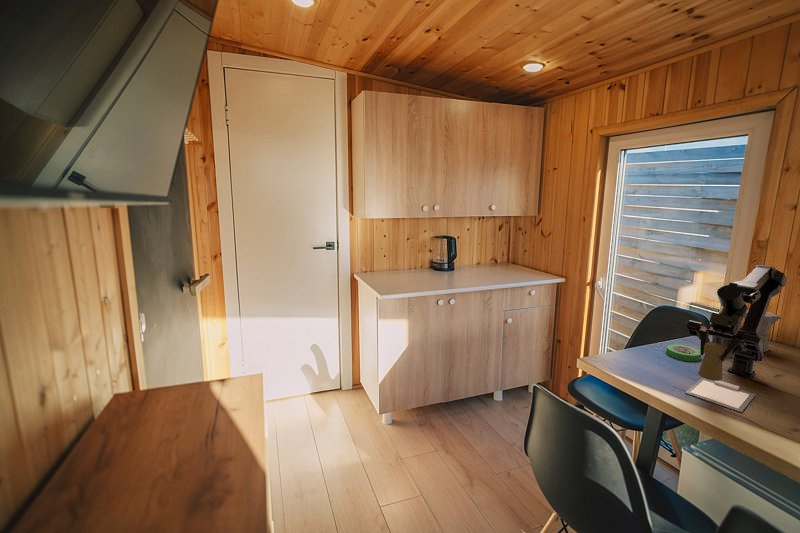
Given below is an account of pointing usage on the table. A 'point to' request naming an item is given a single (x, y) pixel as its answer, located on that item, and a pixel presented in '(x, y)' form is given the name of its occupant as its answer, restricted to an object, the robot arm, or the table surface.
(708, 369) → the cork
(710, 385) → the clipboard
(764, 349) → the coffeepot
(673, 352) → the tape roll
